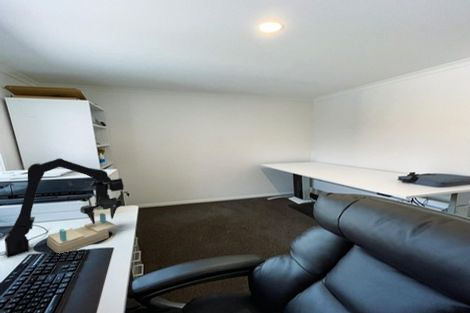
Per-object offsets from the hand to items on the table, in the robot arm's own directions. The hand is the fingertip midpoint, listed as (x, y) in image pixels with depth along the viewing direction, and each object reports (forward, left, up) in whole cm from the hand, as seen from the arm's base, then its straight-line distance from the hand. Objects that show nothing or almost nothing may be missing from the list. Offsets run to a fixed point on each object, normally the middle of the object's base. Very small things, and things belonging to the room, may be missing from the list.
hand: (103, 221), depth 115 cm
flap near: (-18, -3, -1) cm, 18 cm away
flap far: (-3, -3, -1) cm, 4 cm away
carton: (-12, -3, -5) cm, 14 cm away
